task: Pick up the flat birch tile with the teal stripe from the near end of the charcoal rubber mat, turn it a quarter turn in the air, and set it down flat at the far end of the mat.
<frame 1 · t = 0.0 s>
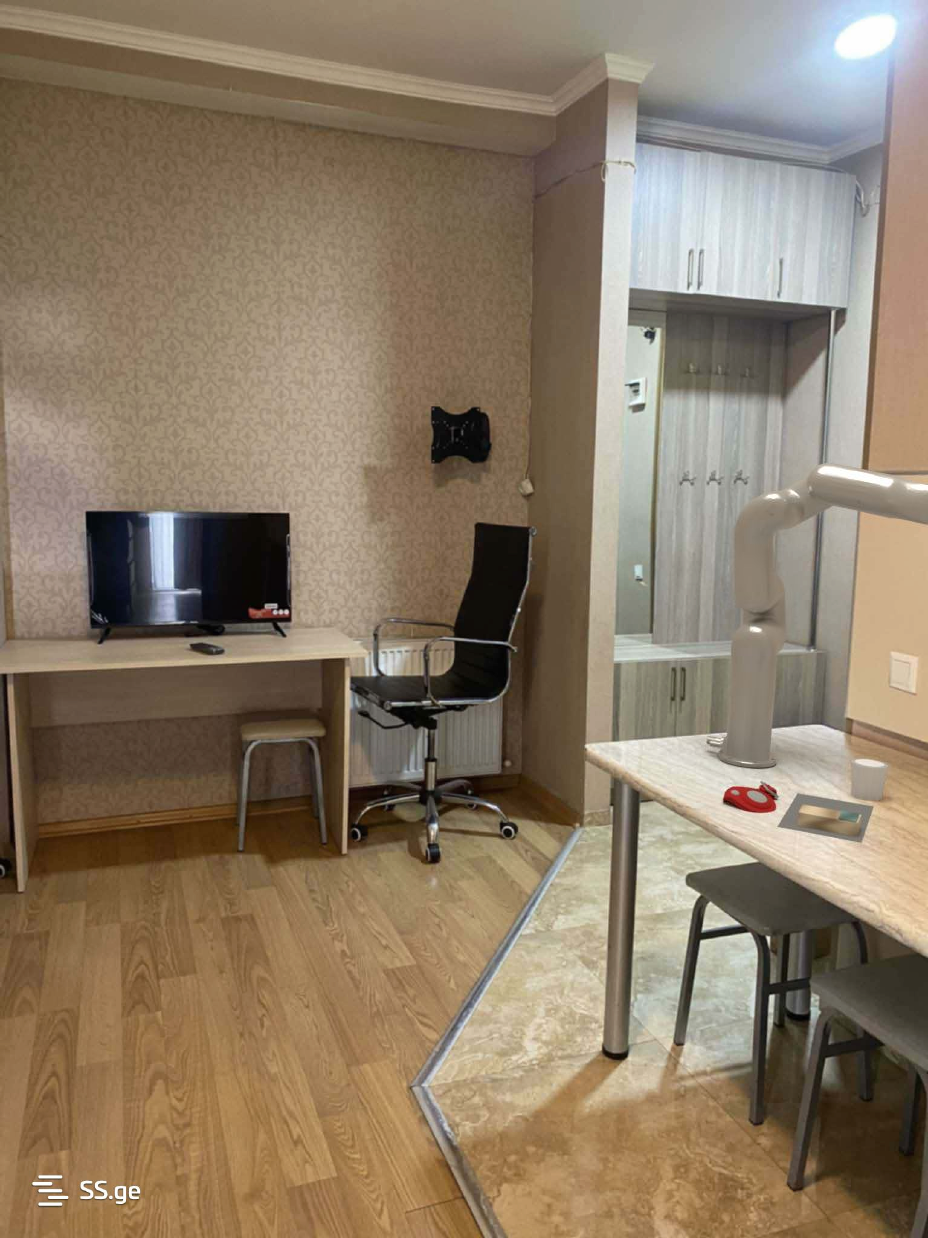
birch tile: (828, 827, 172), point 1 cm above the table, touching rubber mat
rubber mat: (826, 819, 177), on the table
white cylinder: (866, 797, 192), on the table
tracker holder: (756, 809, 183), on the table
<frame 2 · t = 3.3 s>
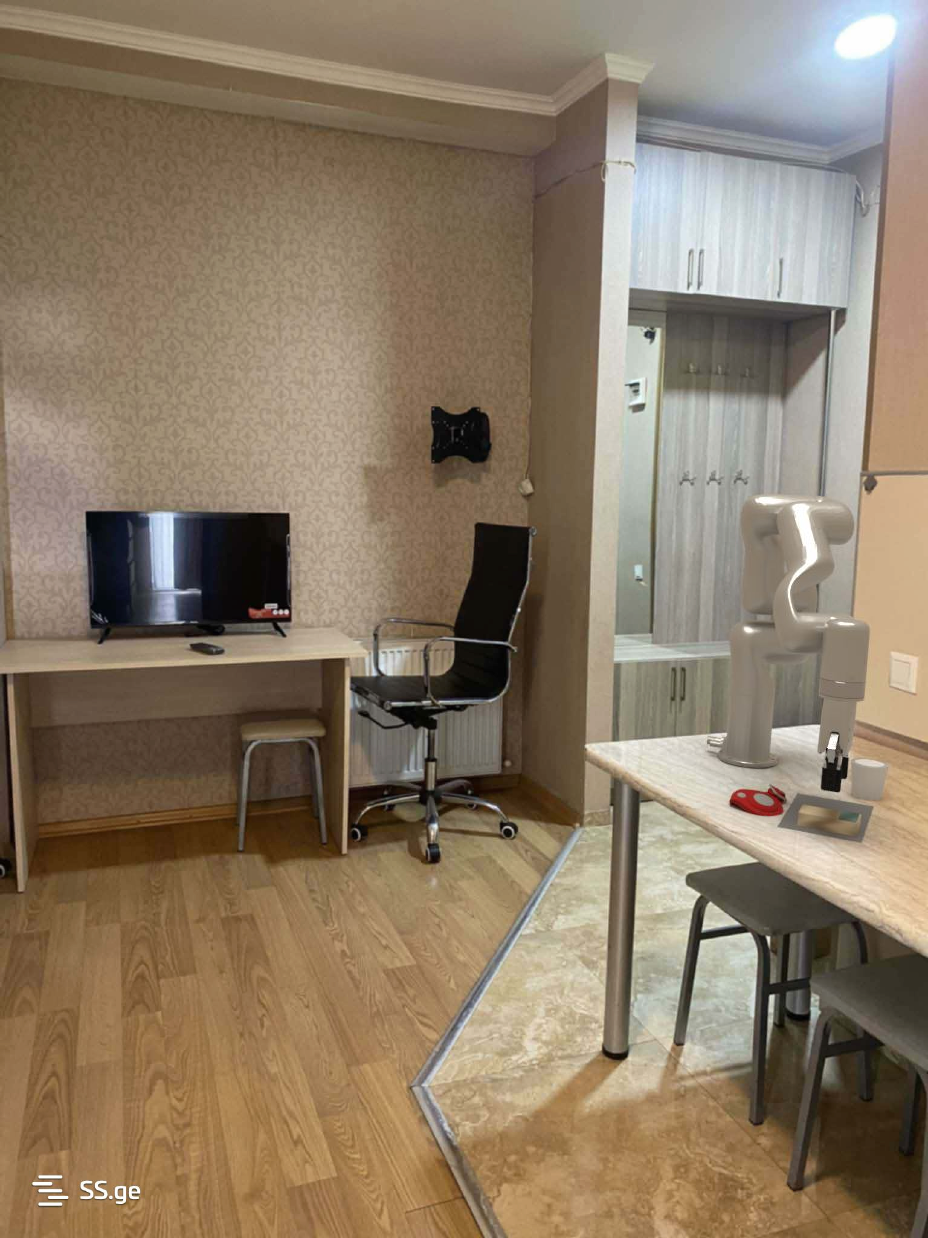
hand: (834, 784, 170), 9 cm above the table, tool pointing down, fingers open, 9 cm apart
tracker holder: (763, 812, 182), on the table
everything else where it was.
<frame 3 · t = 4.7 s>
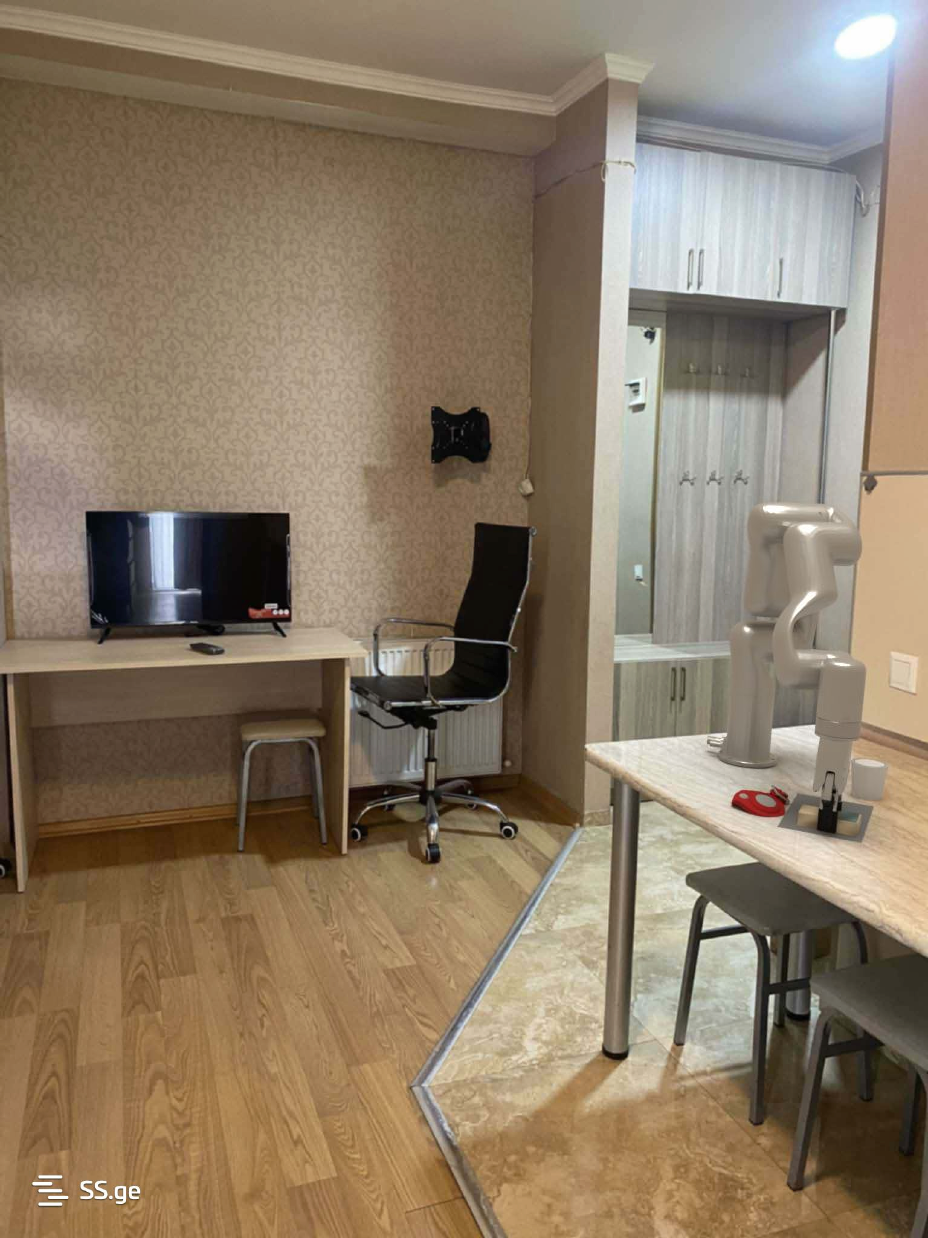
hand: (828, 825, 172), 1 cm above the table, tool pointing down, fingers closed on birch tile, 4 cm apart
birch tile: (828, 827, 172), point 1 cm above the table, touching gripper, rubber mat
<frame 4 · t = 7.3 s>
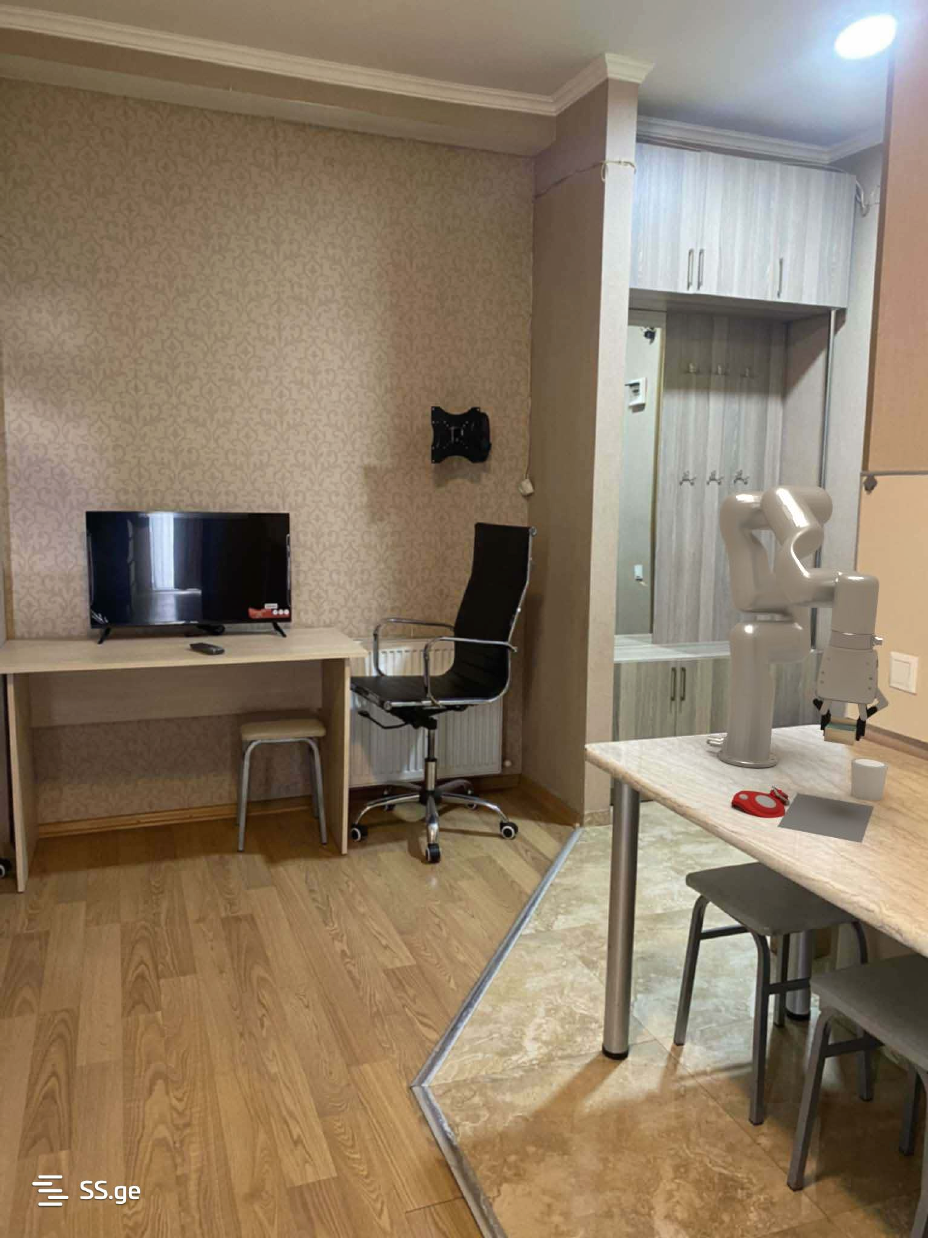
hand: (842, 736, 178), 15 cm above the table, tool pointing down, fingers closed on birch tile, 4 cm apart
birch tile: (841, 737, 178), point 15 cm above the table, touching gripper
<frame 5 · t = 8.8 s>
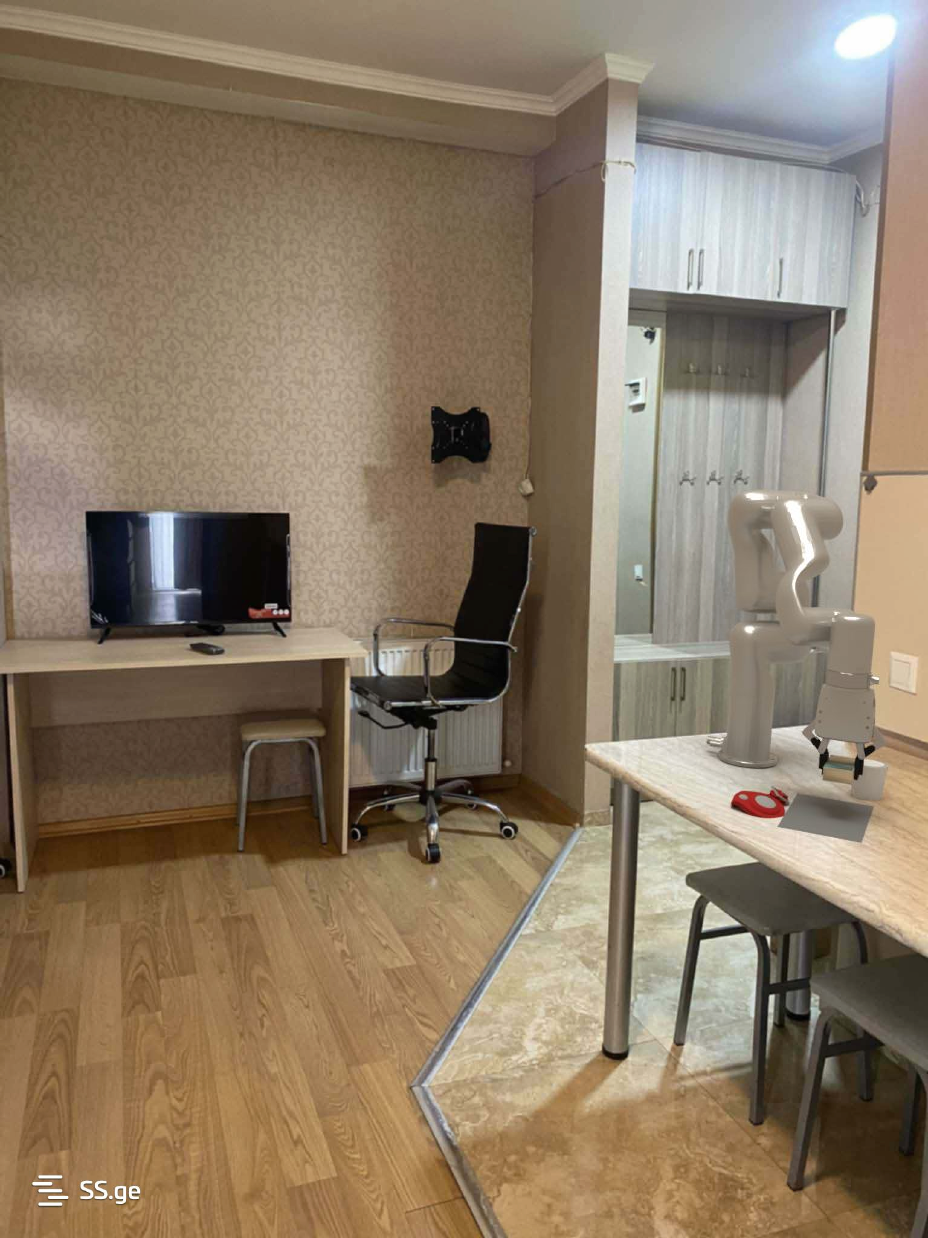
hand: (840, 774, 179), 8 cm above the table, tool pointing down, fingers closed on birch tile, 4 cm apart
birch tile: (840, 776, 179), point 8 cm above the table, touching gripper
when the fingers open (2 cm above the table, at t = 10.2 s): birch tile drops 1 cm, resting on rubber mat.
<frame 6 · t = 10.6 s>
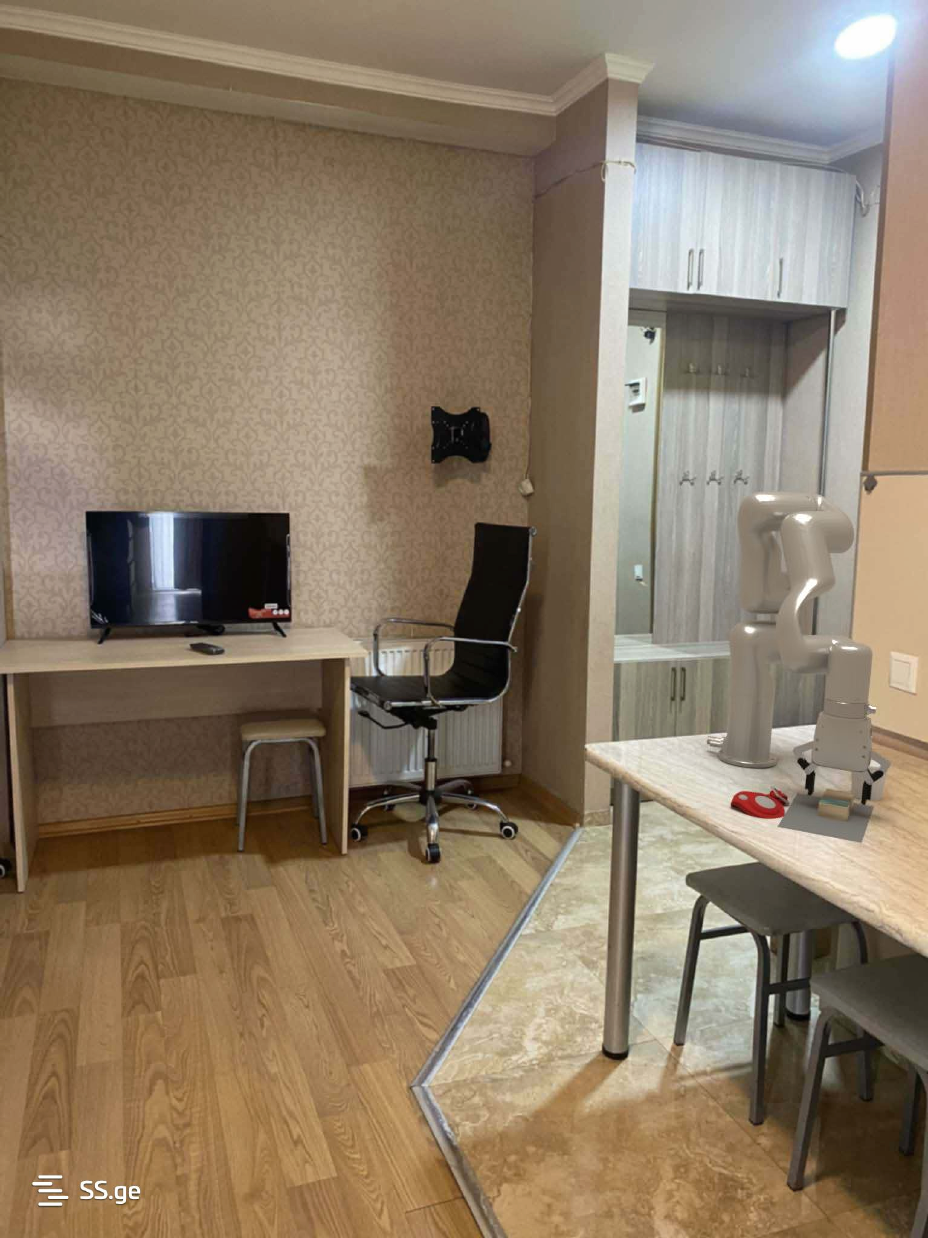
hand: (836, 798, 180), 3 cm above the table, tool pointing down, fingers open, 9 cm apart
birch tile: (835, 811, 180), point 1 cm above the table, touching rubber mat
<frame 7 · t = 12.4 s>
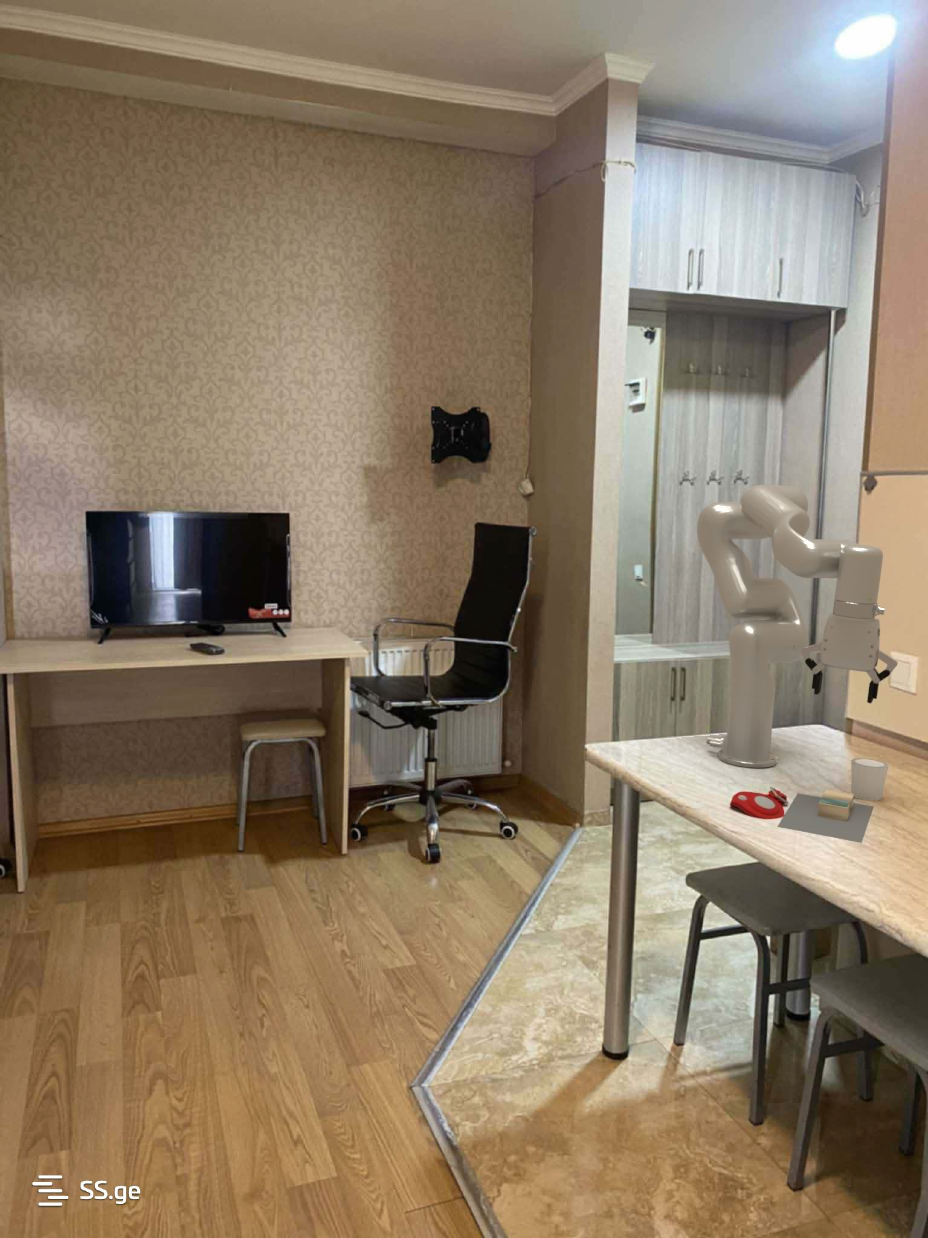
hand: (843, 697, 185), 21 cm above the table, tool pointing down, fingers open, 9 cm apart
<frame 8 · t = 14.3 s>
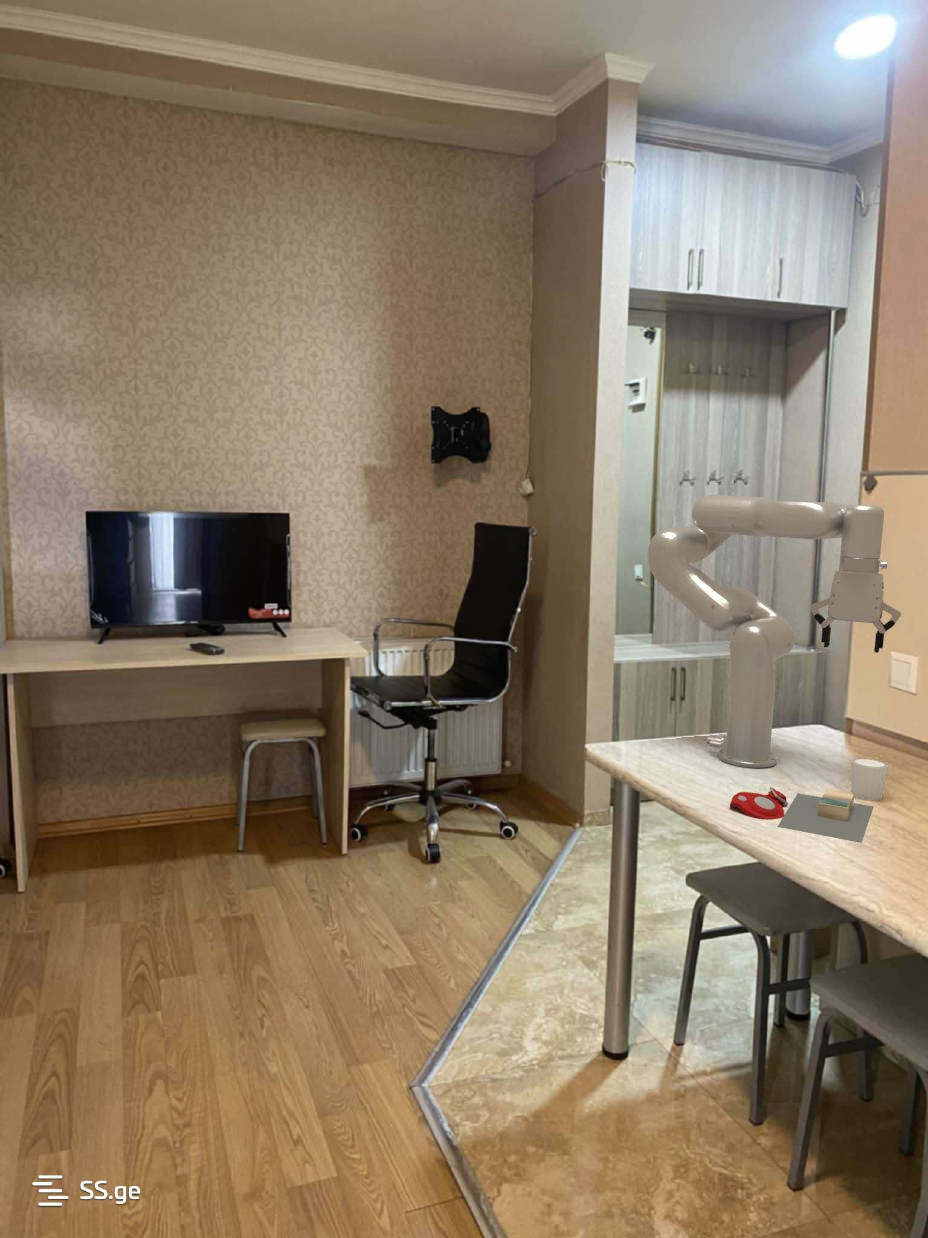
hand: (851, 649, 197), 28 cm above the table, tool pointing down, fingers open, 9 cm apart
at the end: birch tile inside the target area (0.0 cm from its centre), point 0.6 cm above the table; birch tile tilted 0°; birch tile touching rubber mat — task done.
